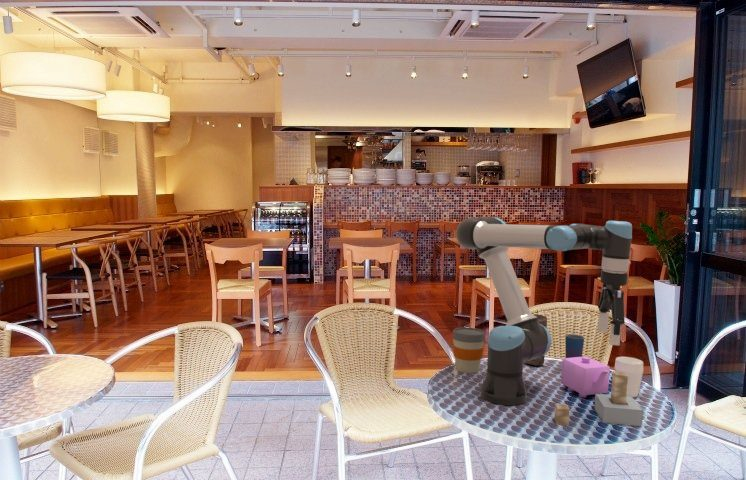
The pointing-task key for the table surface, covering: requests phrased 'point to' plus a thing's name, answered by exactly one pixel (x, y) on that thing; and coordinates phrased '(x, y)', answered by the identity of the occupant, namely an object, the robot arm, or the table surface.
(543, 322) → the candle
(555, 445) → the table surface
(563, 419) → the short peg
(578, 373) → the teapot
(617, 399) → the long peg
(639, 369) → the cup
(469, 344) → the reusable coffee cup
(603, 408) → the socket block
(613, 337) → the robot arm
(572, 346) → the cup
